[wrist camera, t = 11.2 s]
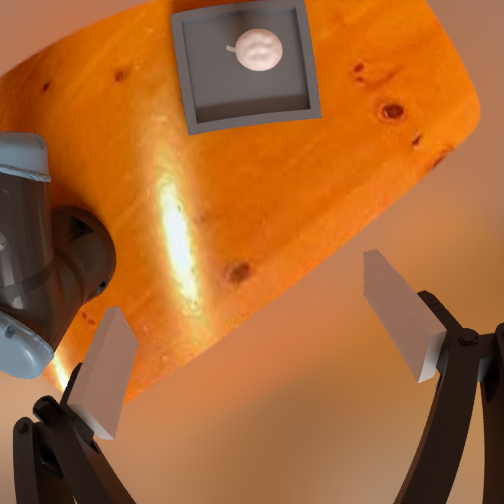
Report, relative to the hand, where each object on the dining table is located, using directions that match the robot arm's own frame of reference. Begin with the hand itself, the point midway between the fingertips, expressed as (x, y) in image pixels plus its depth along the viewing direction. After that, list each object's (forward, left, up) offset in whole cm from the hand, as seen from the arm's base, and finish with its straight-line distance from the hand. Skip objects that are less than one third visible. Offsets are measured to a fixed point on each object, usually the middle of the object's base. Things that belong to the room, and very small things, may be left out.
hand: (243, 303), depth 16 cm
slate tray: (+3, +15, -27) cm, 31 cm away
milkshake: (+4, +15, -26) cm, 30 cm away
